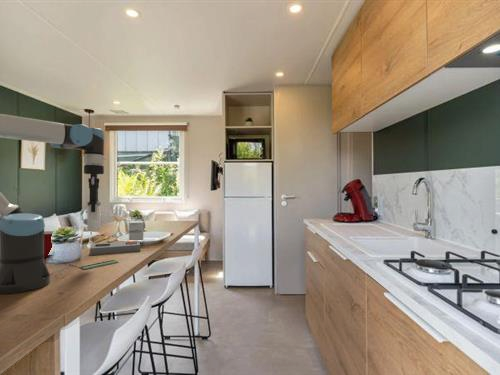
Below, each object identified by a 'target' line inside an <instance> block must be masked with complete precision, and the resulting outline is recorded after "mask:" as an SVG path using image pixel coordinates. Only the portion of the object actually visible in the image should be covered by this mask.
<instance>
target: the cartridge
mask: <svg viewBox="0 0 500 375" xmlns="http://www.w3.org/2000/svg"><path fill="white" fill-rule="evenodd" d="M88 203H89V201H88V202H87V203H86V204H87V206H86V208H87V212H86V213H87V220H86V222H87V223H86V225H87V226H86V228H87V229H86V231H87V232H97V231H101V230H102V229H101V228H102V227H101V221H102V220H101V219H102V218H101V216H102V215H101V212H102V211H101V210H102V209H101V208H102V207H101V206H102V205H101V204H102V203H101V201H98V202H97V220H90V205H88Z"/></svg>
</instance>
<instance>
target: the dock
mask: <svg viewBox="0 0 500 375" xmlns="http://www.w3.org/2000/svg"><path fill="white" fill-rule="evenodd" d="M127 241H128V240H127ZM127 241H111V242H98V243H97V242H96V243H95V242H94V243H92V244H91V246H90V248H89V254H90V256H93V255H95V256H96V255H104V254H106V255H107V254H119V253H134V252H141V244H140V242H139V241H136V244H127Z"/></svg>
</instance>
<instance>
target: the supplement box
mask: <svg viewBox="0 0 500 375" xmlns="http://www.w3.org/2000/svg"><path fill="white" fill-rule="evenodd" d="M144 222H145V221H144V220H132V221H129V223H128V241H129V240H143V241H144V225H145V223H144Z"/></svg>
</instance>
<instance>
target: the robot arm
mask: <svg viewBox="0 0 500 375" xmlns="http://www.w3.org/2000/svg"><path fill="white" fill-rule="evenodd" d="M0 138H2V139H10V140H20V141H28V142H37V143H46V144H50V146H51V148H56V149H57V148H58V149H66V150H78V151H83V164H84V165H83V173H84V175H90V176H89V178H87V179H88V181H87V182H88V188H89V201H88V202H89V203H88V205H90V220H97V202H99V187H100V178H98V175H103V174H104V173H105V170H104V169H105V167H104V162H105V161H106V157H105V153H104V152H105V150H104V149H105V135H104V131H103V129H102V128H98V127H89V126H88V125H85V124H71V123H70V124H68V123H61V122H57V121H49V120H44V119H43V120H42V119H37V118H30V117H24V116H17V115H11V114H4V113H0ZM45 227H46V225H45V220H44V217H43V216H42V215H40V214H37V213H27V212H26V213H25V212H24V210H22V209H21V207H20V206H19V205H18V204H14V203H13V204H12V203H10V202H9V200H8V198H7V197H5V195H4V194H3V193H2V192H1V191H0V294H3V295H4V294H15V293H16V294H17V293H18V294H19V293H22V292H29V291H33V290H37V289H40V288H42V287H45V286H47V285H49V284H50V283H51V274H50V271H49V269H48V267H47V264H46V261H45V259H44V231H45Z"/></svg>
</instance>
